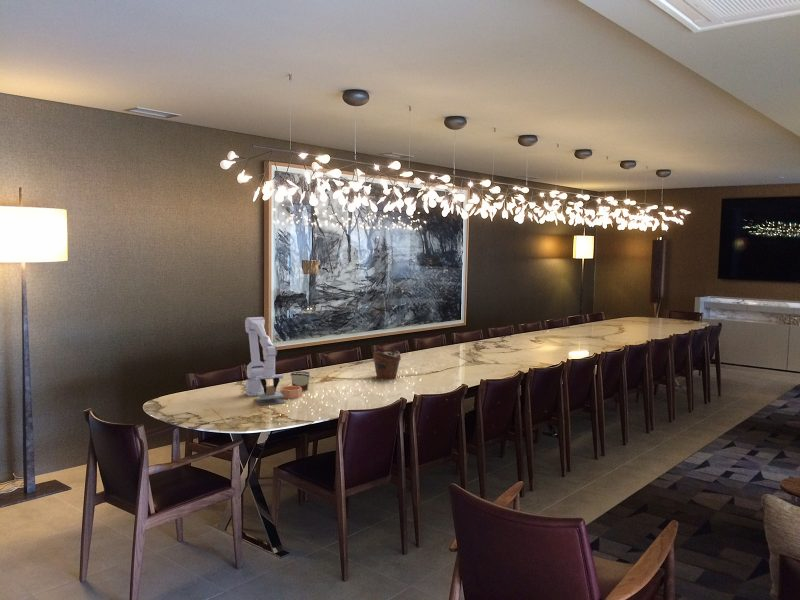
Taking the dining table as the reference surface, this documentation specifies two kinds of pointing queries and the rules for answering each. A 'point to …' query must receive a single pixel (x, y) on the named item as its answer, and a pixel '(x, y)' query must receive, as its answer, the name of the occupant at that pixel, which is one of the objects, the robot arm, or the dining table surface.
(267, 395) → the lid
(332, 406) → the dining table surface
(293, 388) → the bowl
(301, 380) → the food container
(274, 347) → the robot arm
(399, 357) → the brown pot
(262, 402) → the mat
